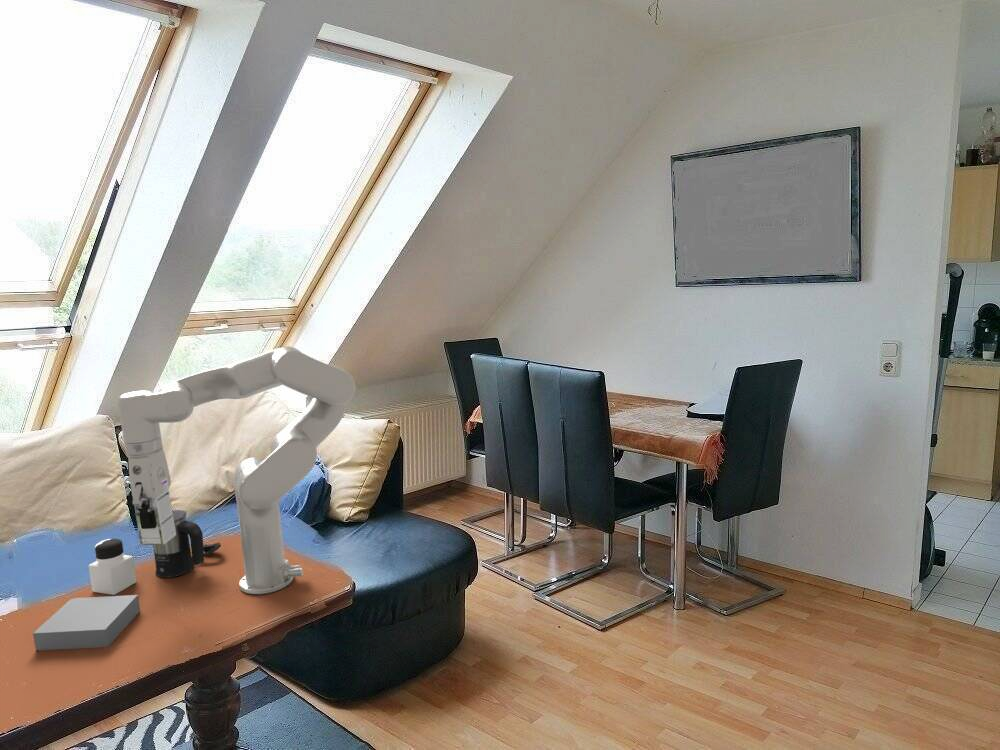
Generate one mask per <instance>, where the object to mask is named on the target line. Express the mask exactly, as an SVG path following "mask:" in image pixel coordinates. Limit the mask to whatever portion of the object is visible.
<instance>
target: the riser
mask: <svg viewBox="0 0 1000 750" xmlns="http://www.w3.org/2000/svg"><path fill="white" fill-rule="evenodd" d="M140 612H141V608H140V602H139V595H138V594H130V595H112V596H108V595H107V596H93V597H91V596H90V597H73V598H70V599H69V600H68V601H67V602H66V603H65V604H64V605H63V606H61V607H60V608H59V609H58V610H57V611H56V612H54V613H53V614H52V616H50V617H49V618H48V619H47V620H46V621H45V622H44V623H42V624H41V626H39V627H38V628H37V629H36V630H35V631H34V632H33V633H32V636H33V637H32V638H33V642H34V647H35V651H36V650H39V651H55V650H74V649H75V650H76V649H91V648H92V649H95V648H108V647H109V646H111V644H112V643H113V642H114V640H115V639H116V638H118V637H119V635H120V634H121V633H122V632H123V631H124V630H125V628H126V627H127V626H128V625H129V624H130V623H131V622H132V621H133V620H134V619H135V617H137V615H138V614H139V613H140Z"/></svg>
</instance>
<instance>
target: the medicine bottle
mask: <svg viewBox="0 0 1000 750" xmlns="http://www.w3.org/2000/svg"><path fill="white" fill-rule="evenodd" d="M94 553H95V559H96V561H94V562H92V563H90V564H88V572H89V578H90V584H91V591H92V592H93V593H99V594H105V595H106V594H107V595H112V596H116V595H117V594H119V593H120V592H122V591H124V590H126V589H127V588H129V587H130V586H133V585H134V584H136V583H137V574H136V568H135V561H134V556H132V555H126V554H125V551H124V545H123V541H122V540H121V539H120V538H107V539H103V540H101V541H99V542H98V543H96V544H95V545H94Z"/></svg>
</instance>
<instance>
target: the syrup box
mask: <svg viewBox="0 0 1000 750" xmlns="http://www.w3.org/2000/svg"><path fill="white" fill-rule="evenodd" d="M163 479H164V478H163ZM161 482H163V484H162V485H163V486H164V492H163V493H162V494H161V495H160V496H158V497H157V498H156V499H152V511H154V512H155V518H156V525H157V527H156V528H151V529H142V528H141V523H140V517H139V513H138V511H137V509H136V507H135V506H134V505H133V506H134V511H135V518H136V524H137V529H138V530H137V531H138V536H139V542H140V545H141V546H146V545H147V546H149V545H150V546H153V545H164V544H165V543H167V542H168V541H170V540H171V539H172V538H173V537H174V536H176V531H175V525H174V519H173V513H172V510H173V508H172V501H171V496H170V495H171V494H170V487H169V486H168V480H167V477H165V479H164V480H162V481H161ZM142 498H148V497H147V496H146V495H142ZM143 503H145V504H146V505H147V506H148V501H143Z"/></svg>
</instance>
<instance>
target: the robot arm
mask: <svg viewBox="0 0 1000 750" xmlns="http://www.w3.org/2000/svg"><path fill="white" fill-rule="evenodd" d="M280 386H284V387H287V388H288V389H291V390H293V391H296V392H297V393H300V394H301V395H302V394H303V395H305V396H308V397H310V398H312V400H311V401H310V403H309V405H308V406H307V407H306V408H305V409H304V410H303V411H302V412H301V413H300V414H298V416H296V417H295V419H293V420H291V422H290V423H289V424H287V426H285V428H283V429H282V430H281V431H279V432H278V433H277V434H276V435H275V436H274V437H273V438H272V440H271V442H270V445H269V448H270V454H269V455H268V456H267V457H266V458H265V459H264V458H263V457H260V456H259V457H257V456H252V457H249V458H248V457H247V458H246V459H244V460H242V461H241V462H239V464H238V465H237V466H236V469H235V471H234V473H233V487H234V495H235V500H236V507H237V514H238V521H239V522H238V524H239V531H240V542H241V549H242V558H243V559H242V560H243V566H244V567H243V569H244V576H243V577H242V578H241V579H240V580H239V583H238V584H239V589H240V590H241V591H242V592H243V593H245V594H249V595H264V594H265V595H266V594H271V593H274V592H277V591H280V590H282V589H284V588H286V587H287V586H289V585H290V584H291V583H292V582H293V580H294V577H303V576H304V569H303V567H301V564H296V565H291V564H290V563H289V562H290V561H289V559H285V549H284V539H283V529H282V522H281V521H282V519H281V510H280V502H279V501H280V500H282V498H284V497H285V496H286V495H287V494H288V493H289V492H290V491H292V490H293V489H294V488H295V487H296V486H297V485H298V484H299V483H300V482H301V481H302V480H304V478H306V477H307V476H308V475H309V474H310V472H311V471H312V469H313V468H314V466H315V464H316V462H317V458H318V452H317V448H318V446H319V445H320V444H322V443H323V441H324V440H326V438H328V436H330V435H331V433H332V432H333V431H334V430H335V429H336V428H337V427H338V425H339V424H340V422H341V421H342V418H343V416H344V413H345V411H346V407H347V406H346V405H347V403H348V402H349V401H351V399H352V398H354V396H355V393H356V388H357V386H356V381H355V379H354V377H353V376H352V375H351V373H349V372H348V371H346V370H345V369H343V368H342V367H341V366H340V365H337V364H333V363H325V362H322V361H321V360H317V359H316V358H313V357H311V356H309V355H307V354H305V353H303V352H302V351H300V350H299V349H297V347H293V346H281V347H278V348H275V349H272V350H269V351H265V352H263V353H260V354H258V355H254V356H251V357H248V358H246V359H243V360H239V361H236V362H233V363H230V364H227V365H223V366H222V365H221V366H218V367H216V368H212V369H206V370H204V371H201V372H197V373H194V374H191V375H188V376H185V377H182V378H179V379H176V380H173V381H171V382H168V383H166V384H164V385H163V386H162V387H161V388H160V390H159V391H158V392H156V393H153V392H152V391H150V390H136V391H130V392H126V393H123V394H121V395H120V396H119V397H118V400H117V407H118V413H119V418H120V419H119V420H120V425H121V430H122V431H121V432H122V437H123V444H124V448H125V449H124V450H125V455H126V457H127V458H128V474H129V485H130V490H131V491H130V492H131V496H132V505H133V506H135V507H136V509H137V511H138V513H139V517H140V523H141V528H142V529H151V528H156V527H157V525H156V518H155V512H154V511H152V499H156V498H157V497H158V496H160V495H161V494H162V493H163V492H164V486H163V485H162V484H163V482H161V481H162V480H164V479H165V477H167V480H168V486H169V488H170V487H171V485H172V481H171V480H172V479H171V477H170V476H171V475H170V470H169V465H168V461H167V457H166V454H165V451H164V447H163V440H162V432H161V427H160V423H165V424H166V423H169V424H171V423H172V424H173V423H180V422H184V421H186V420H188V418H190V416H191V415H192V413H193V412H194V408H195V407H199V406H200V405H203V404H207V403H210V402H214V401H217V400H218V401H219V400H226V399H227V400H242V399H243V400H244V399H247V398H249V397H252V396H255V395H257V394H261V393H263V392H265V391H268V390H271V389H274V388H277V387H280ZM163 478H164V479H163ZM142 495H146V496H147V497H148V498H142ZM143 501H148V506H147V505H146V504H145V503H143ZM135 507H134V508H135Z"/></svg>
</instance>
